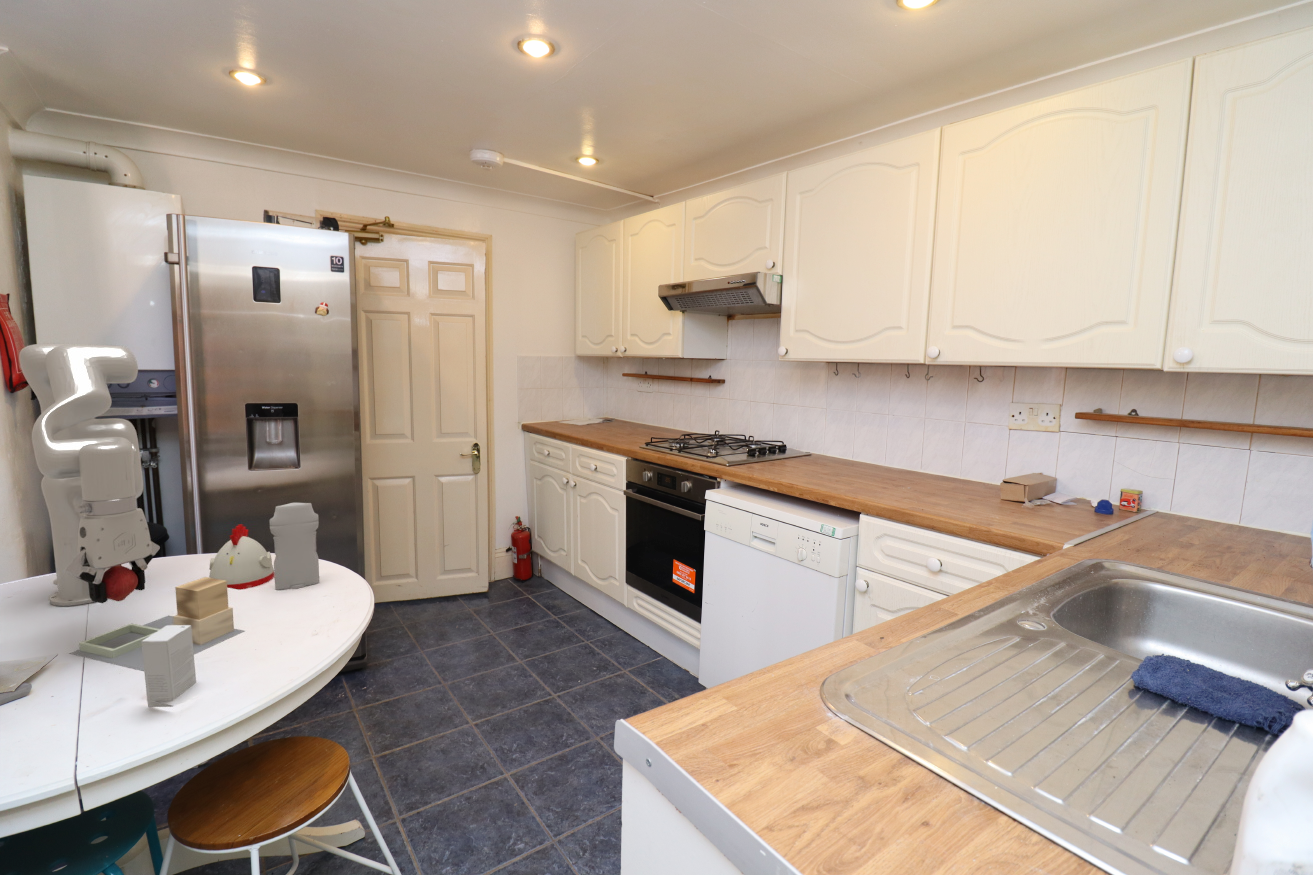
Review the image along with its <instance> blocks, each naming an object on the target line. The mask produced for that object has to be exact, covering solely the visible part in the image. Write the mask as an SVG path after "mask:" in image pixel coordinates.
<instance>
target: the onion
mask: <svg viewBox="0 0 1313 875" xmlns="http://www.w3.org/2000/svg"><path fill="white" fill-rule="evenodd" d="M131 569H132V568H128V567H126V566H123V565H122V564H121V565H118V566H114V567H111V568H109V569H108V570H106V571H105V572H104V575H103V578H102V582H105V584H106V594H107V600H111V601H114V602H115V601H116V602H122V601H124V600H125V599H126V598H127V597H128V596H130V594H132V593H133V592H134V591H135V588H136V586H137V584H138V578H137V575H136V574H135V573H134V572H133V571H132V570H131Z"/></svg>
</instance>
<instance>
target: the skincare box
mask: <svg viewBox="0 0 1313 875" xmlns="http://www.w3.org/2000/svg"><path fill="white" fill-rule="evenodd" d="M141 643H142V653H143V663H144V671H143V672H144V680H145V691H146V698H147V699H146V701H147V706H148V707H149V708H158V707H159V708H161V707H162V708H166V707H167V708H168V707H170V708H171V707H173V705H172V704H167V703H164V702H165V701H166V702H167V701H170V702H171V701H172V702H173V701H174V700H175V699H177V698H178V697H179V696H181V695H182V694H183V693H184V692H186V691H187V690H188V689H189V688H191V687H192V686H193V685H194V684H196V683H197V677H196V674H197V673H196V666H195V654H194V651H193V640H192V629H191V625H167V626H165V627H163V628H162V629H160V630H159V631H157V632H156V633H154V634H152V635H151V636H149V637H148V638H146V639H144V640H143V641H141ZM163 701H164V702H163Z"/></svg>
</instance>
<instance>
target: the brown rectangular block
mask: <svg viewBox="0 0 1313 875" xmlns="http://www.w3.org/2000/svg"><path fill="white" fill-rule="evenodd" d="M228 607H229V608H228V609H225V610H223V611H220V612H218V613H215V614H213V615H210V616H208V617H205V618H203V619H200V620H198V619H193V618H188V617H183V616H178V615H177V614H175V615H172V616H173V623H174V625H191V629H192V640H193V643H194V644H198V645H202V644H204V643H206V642H209V641H211V640H213V639H215V638H217V637H220V636H222V635H224V634H226V633H229V632H231V631H233V630H234V629H235V624H234V621H235V620H234V609H233V607H232V606H228Z"/></svg>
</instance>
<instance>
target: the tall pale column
mask: <svg viewBox="0 0 1313 875" xmlns="http://www.w3.org/2000/svg"><path fill="white" fill-rule="evenodd" d="M268 522H269V530H270V533H271V534H272V535H273V538H272V539H273V543H274V546H273V547H274V555H275V557H274V561H273V569H274V577H273V578H274V589H275V590H276V591H282V590H283V591H284V590H291V589H292V590H294V589H295V590H296V589H302V588H304V587H309V586H315V585H318V584H319V583H320V566H319V564H320V563H319V562H320V560H319V556H318V552H317V531H316V530H317V529H318V528H319V524H320V522H319V514H318V513H316V512H315V511H314V509H313V505H312V503H311V502H290V503H287V504H286V503H285V504H282V505H277V506H275V509H274V513H273V517H271V518H270V519H269V520H268Z"/></svg>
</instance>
